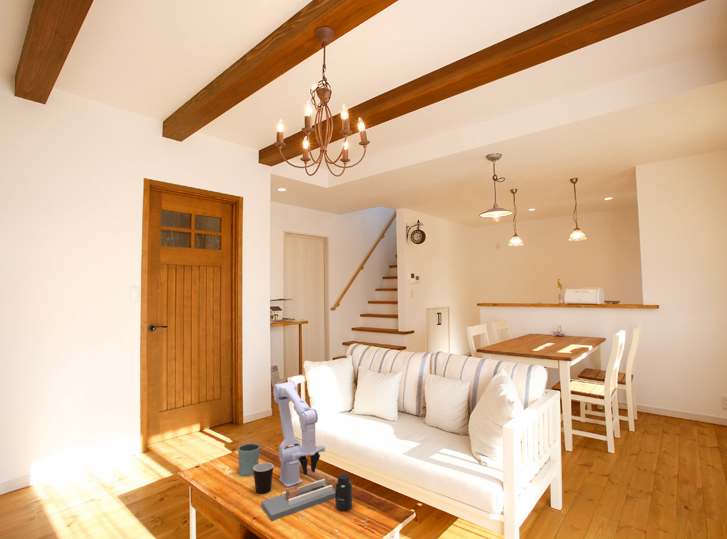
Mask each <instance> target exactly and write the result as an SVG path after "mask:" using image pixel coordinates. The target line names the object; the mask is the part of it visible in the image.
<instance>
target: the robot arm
mask: <svg viewBox="0 0 727 539" xmlns="http://www.w3.org/2000/svg"><path fill="white" fill-rule="evenodd" d="M297 388H298V386H297V383H296V381H294V380H291V381H287V382H282V383H275V384H274V385H273V390H272V393H273V399H274V403H276V404H278V411H279V417H280V424H281V429H282V436H283V440H282V442H281V443H280V444H279V445H278V458H279V461H280V477H279V478H278V480H279V481H280V482H281V483H282V484H283V486H284V487H285V488H289V487H292V486H296V485H299V484H302V483H303V479H301V478H300V465H301V468H302V473H303V475H304V476H307V474H308V462H309V460H308V459H307V456H309V457H310V470H311V472H312V473H315V472H316V468H317V465H318V462H319V459H320V457H321V454H320V453H321V452H322V453H324V452H326V446H325V445H319V446H318V445H317V446H316V444H317V443H316V424H317V422H318V421H319V420H318V419H319V417H318V416H319V415H318V413H317V410H316V409H315V408H311V407H310V406H309V405H308V403H307V401H305V399H303V398H301V397H300V395H299V393H298V390H297ZM290 401H291V403H292V404H293V409H294V411H295V412H296V415H297V416H298V420H299V424H300V425H299V426H300V430H301V440H299V439H298V438H296V437H295V431H294V426H293V421H292V420H293V419H292V415H291V409H290Z"/></svg>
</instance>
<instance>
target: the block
mask: <svg viewBox="0 0 727 539" xmlns="http://www.w3.org/2000/svg"><path fill="white" fill-rule="evenodd" d="M285 491H286V499H287V500H288V499H291V498H294V497H297V496H299V489H298V486H296V485H292V486H289V487H285Z"/></svg>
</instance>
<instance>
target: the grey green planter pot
mask: <svg viewBox="0 0 727 539" xmlns="http://www.w3.org/2000/svg"><path fill="white" fill-rule="evenodd" d="M260 449H261V446H260V444H259V443H257V442H256V443H254V442H248V443H244V444H241V445H239V446H238V448H237V452H238V454H237V455H238V472H239V475H240V476H241V477H251V476H250V475H252V476H254V472H253V467H254V466H255V465H257V464H259V461H260V460H259V458H260V451H261V450H260Z"/></svg>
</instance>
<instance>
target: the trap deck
mask: <svg viewBox="0 0 727 539" xmlns="http://www.w3.org/2000/svg"><path fill="white" fill-rule="evenodd" d="M326 486H329V485H328V484H327V483H326V482H325V485H322V486H319V487H316V488H313V489H310V490H307V491H304V492H301V493H299V496H300V495H303V494H306V493H309V492H312V491H315V490H317V489H320V488H323V487H326ZM333 499H335V490H334V489H333V491H330V492H327V493H324V494H322V495H319V496H316V497H313V498H310V499H307V500H304V501H302V502H299V503H296V504H293V505H290V506H289V505H288V500H287V499H286V498H282V494H280V495H276V496H274V497H270V498H268V499H264V500H261V501H260V502H261V503H260V504H261V505H260V506H261V508H262V509H263V512H264V513H265V514H266V515H267V516H268V518H269V519H270V521H271V522H273V521H275V520H278V519H281V518H283V517H286V516H289V515H293V514H295V513H297V512H300V511H302V510H305V509H308V508H311V507H314V506H317V505H320V504H323V503H325V502H327V501H330V500H333Z"/></svg>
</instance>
